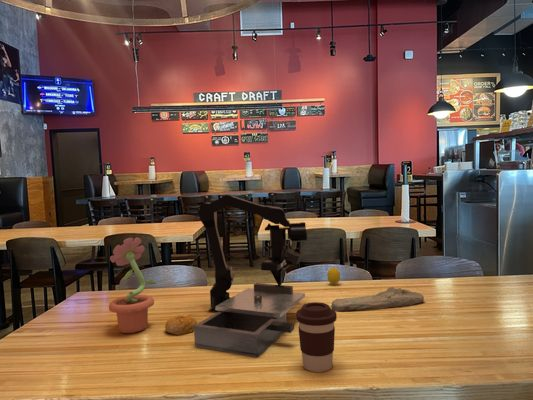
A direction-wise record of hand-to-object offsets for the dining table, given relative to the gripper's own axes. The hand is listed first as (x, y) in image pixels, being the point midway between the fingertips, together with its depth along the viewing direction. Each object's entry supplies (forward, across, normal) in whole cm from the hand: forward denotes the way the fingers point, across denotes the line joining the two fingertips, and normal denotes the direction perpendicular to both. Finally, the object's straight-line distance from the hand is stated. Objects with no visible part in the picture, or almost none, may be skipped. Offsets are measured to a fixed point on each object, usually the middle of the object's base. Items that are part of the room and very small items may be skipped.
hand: (279, 285), depth 142 cm
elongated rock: (+9, +14, -32) cm, 36 cm away
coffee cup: (+9, -38, -26) cm, 47 cm away
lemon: (+9, +36, -10) cm, 38 cm away
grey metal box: (+8, -29, -3) cm, 30 cm away
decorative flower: (+9, -34, +37) cm, 51 cm away
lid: (+2, -15, 0) cm, 15 cm away
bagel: (+9, -29, +22) cm, 38 cm away
